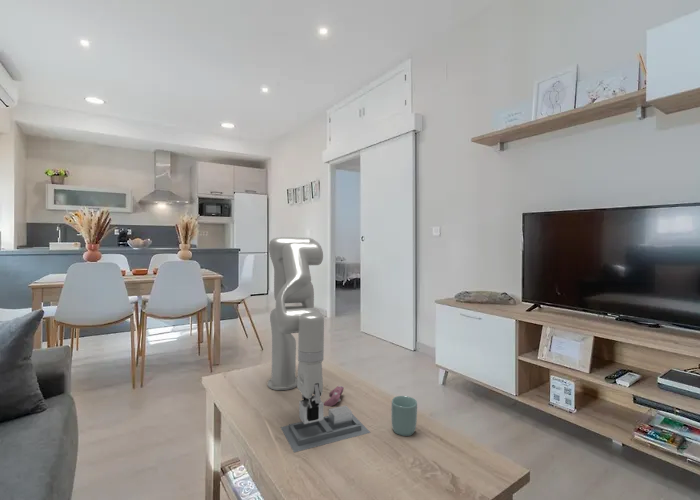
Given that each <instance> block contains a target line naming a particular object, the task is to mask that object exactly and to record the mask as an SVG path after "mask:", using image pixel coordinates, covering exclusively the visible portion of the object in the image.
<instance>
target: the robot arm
mask: <svg viewBox="0 0 700 500" xmlns="http://www.w3.org/2000/svg"><path fill="white" fill-rule="evenodd" d="M268 244H269V245H268V252H269V257H270V260H271V263H272V266H273V296H274V300H275V308H273V309H272V310H271V312H270V313H269V314H270V315H269V320H270V321H269V322H270V328H271V378H270V379H268V381H267V387H268V388H269V389H271V390H275V391H288V390H289V391H290V390H292V389H295V388H297V389H298V391H299V392H300V393H301V400H306V399H309V407H308V421H313V420H317V419H318V418H319V403H320V402H321V401H322V399H321V397H322V395H323V391H324V390H323V383H324V382H323V379H324V378H323V365H322V364H323V363H322V362H324V351H325V350H324V346H325V345H324V343H325V342H324V341H325V319H324V318H325V317H324V315H323V314H322V312H321V311H320V310H319V309H318V308H316V307H315V291H314V285H313V283H312V276H311V272H310V266H319V265H321V264H322V262H323V260H324V251H323V247H322V246H321V245H320V243H319V242H318V241H317V240H315V239H314V238H311V237H292V236H287V237H286V236H281V237H274V238H272V239H271V240H270V241H269V243H268ZM300 303H301V305H286V304H300ZM293 334H298V338H297V339H298V348H297V340H296V338H295V337H294V335H293ZM296 351H297V353H296ZM297 354H298V355H297ZM296 356H297V357H296ZM296 358H297V360H298V365H297V366H298V367H297V366H296V363H297V362H296ZM296 367H297V368H296ZM296 369H297V370H296ZM296 371H297V376H296ZM313 398H315V400H314V401H312V399H313Z"/></svg>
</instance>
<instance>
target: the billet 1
mask: <svg viewBox="0 0 700 500" xmlns="http://www.w3.org/2000/svg"><path fill="white" fill-rule="evenodd" d="M314 400H315V398H313V399H312V401H314ZM298 402H299V407H298V409H299V411H298V414H299V419H300V422H303V423H304V424H308V423H312V422H316V421H321V420H323V417H324V403H325V402H323V401H322V400H321V402H320V403H319V418H318V419H317V420H313V421H308V407H309V399H306V400H303V399H301V400H299V401H298Z"/></svg>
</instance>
